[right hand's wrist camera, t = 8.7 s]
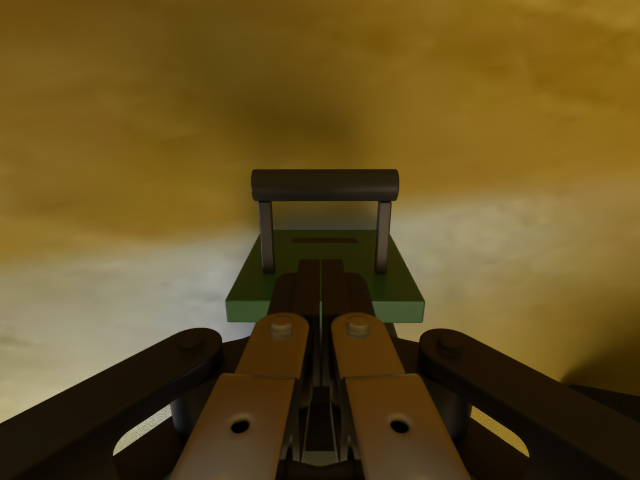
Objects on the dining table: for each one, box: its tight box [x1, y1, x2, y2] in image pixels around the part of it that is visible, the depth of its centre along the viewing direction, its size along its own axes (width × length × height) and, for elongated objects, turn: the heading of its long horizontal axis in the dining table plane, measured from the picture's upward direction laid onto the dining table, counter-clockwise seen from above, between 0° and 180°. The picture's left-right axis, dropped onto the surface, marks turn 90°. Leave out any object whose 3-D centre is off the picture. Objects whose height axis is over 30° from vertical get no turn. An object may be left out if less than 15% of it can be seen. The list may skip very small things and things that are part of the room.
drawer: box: [225, 169, 425, 451], centre depth 22 cm, size 21×9×10 cm, turn 0°
